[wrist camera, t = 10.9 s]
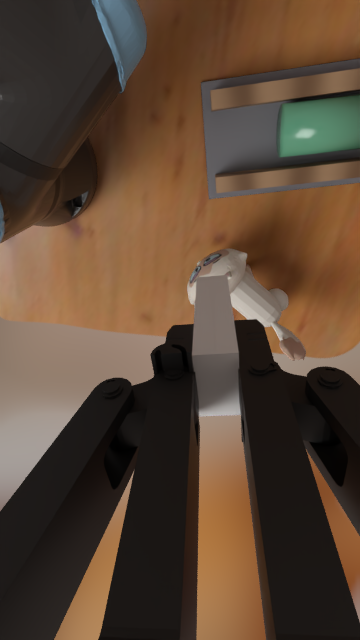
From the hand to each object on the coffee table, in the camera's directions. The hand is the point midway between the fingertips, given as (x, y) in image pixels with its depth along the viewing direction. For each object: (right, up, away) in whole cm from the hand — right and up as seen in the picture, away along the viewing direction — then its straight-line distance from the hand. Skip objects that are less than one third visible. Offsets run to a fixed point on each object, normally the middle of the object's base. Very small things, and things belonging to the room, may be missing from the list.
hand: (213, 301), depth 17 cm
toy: (+9, +5, +34) cm, 35 cm away
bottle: (+10, +21, +21) cm, 31 cm away
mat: (+12, +22, +24) cm, 35 cm away
